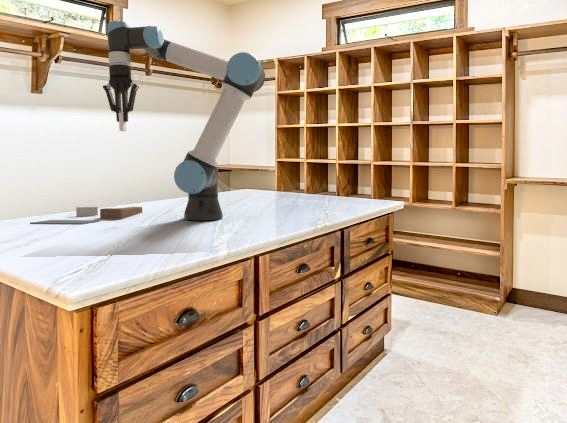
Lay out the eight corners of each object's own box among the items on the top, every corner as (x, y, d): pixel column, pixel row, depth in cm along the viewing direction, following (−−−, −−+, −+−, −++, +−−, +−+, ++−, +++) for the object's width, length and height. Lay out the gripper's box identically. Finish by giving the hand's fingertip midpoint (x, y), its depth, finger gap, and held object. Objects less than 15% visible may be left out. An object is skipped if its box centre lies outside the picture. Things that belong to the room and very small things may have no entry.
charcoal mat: (100, 221, 181) (100, 220, 181) (82, 224, 168) (82, 223, 168) (51, 220, 183) (51, 219, 183) (29, 223, 171) (29, 222, 170)
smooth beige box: (97, 218, 201) (96, 206, 201) (97, 219, 194) (97, 207, 194) (76, 218, 198) (76, 206, 198) (76, 220, 191) (76, 207, 190)
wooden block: (99, 208, 186) (123, 206, 204) (99, 220, 186) (123, 217, 204) (120, 209, 184) (142, 206, 202) (121, 220, 185) (142, 217, 202)
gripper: (141, 67, 177) (143, 131, 178) (107, 69, 178) (110, 132, 179) (133, 62, 170) (136, 129, 171) (98, 64, 171) (101, 130, 172)
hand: (122, 130), depth 175 cm, fingers closed
